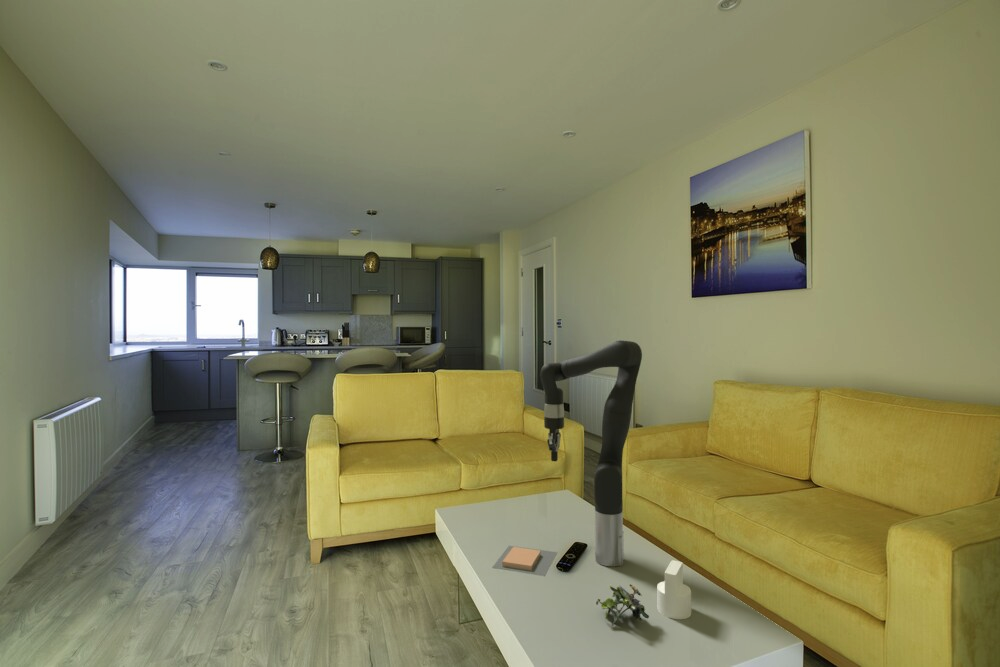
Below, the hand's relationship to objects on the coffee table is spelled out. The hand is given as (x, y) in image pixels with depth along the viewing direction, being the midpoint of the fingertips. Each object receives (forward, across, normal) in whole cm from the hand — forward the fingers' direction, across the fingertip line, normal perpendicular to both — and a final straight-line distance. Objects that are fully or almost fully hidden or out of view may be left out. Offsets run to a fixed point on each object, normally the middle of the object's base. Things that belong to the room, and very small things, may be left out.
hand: (554, 460), depth 192 cm
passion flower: (+29, -49, -30) cm, 64 cm away
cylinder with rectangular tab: (+29, -39, -43) cm, 65 cm away
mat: (+29, -23, +5) cm, 37 cm away
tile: (+28, -18, +6) cm, 34 cm away
